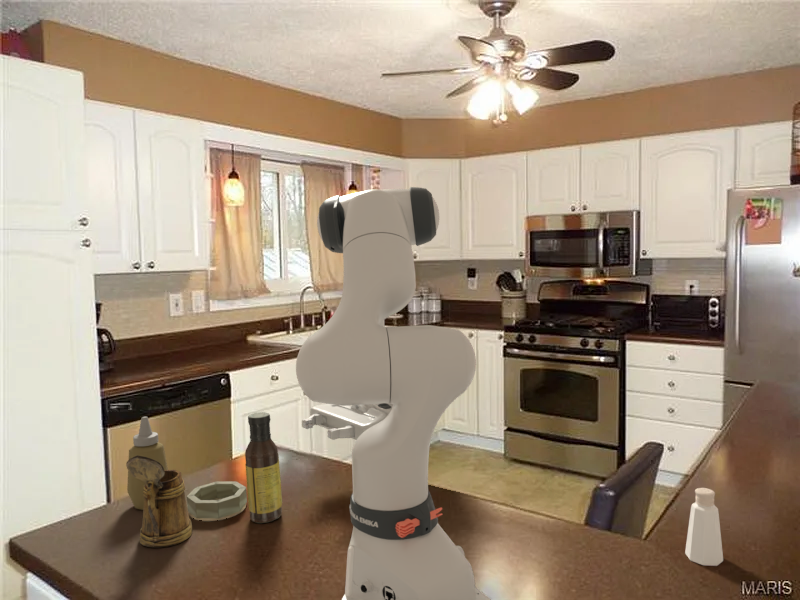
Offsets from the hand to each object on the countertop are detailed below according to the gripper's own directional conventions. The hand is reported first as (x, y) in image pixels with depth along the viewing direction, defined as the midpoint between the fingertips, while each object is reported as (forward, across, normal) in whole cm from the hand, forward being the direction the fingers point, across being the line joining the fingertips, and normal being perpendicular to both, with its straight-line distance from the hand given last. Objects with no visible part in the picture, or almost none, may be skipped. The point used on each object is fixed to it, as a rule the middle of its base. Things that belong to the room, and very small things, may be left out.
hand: (316, 429), depth 121 cm
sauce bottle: (+12, 0, +14) cm, 19 cm away
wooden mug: (+31, -4, +14) cm, 34 cm away
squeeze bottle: (+26, -22, +14) cm, 37 cm away
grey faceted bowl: (+17, -10, +14) cm, 24 cm away
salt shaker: (-30, +64, +14) cm, 72 cm away
